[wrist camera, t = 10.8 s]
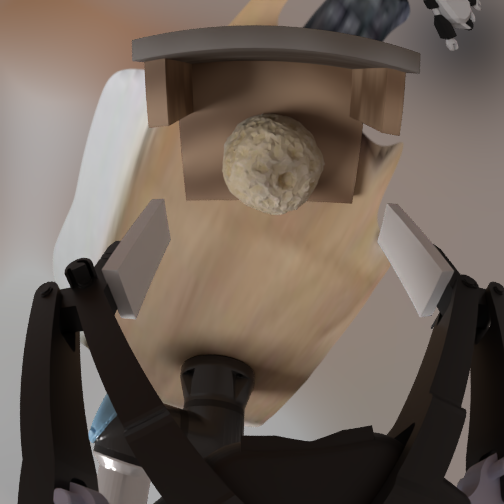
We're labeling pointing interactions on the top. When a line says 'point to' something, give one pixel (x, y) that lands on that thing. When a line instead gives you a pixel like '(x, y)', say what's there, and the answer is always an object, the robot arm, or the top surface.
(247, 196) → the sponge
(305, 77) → the walnut shelf
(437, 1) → the robot toy
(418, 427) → the robot arm
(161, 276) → the top surface
